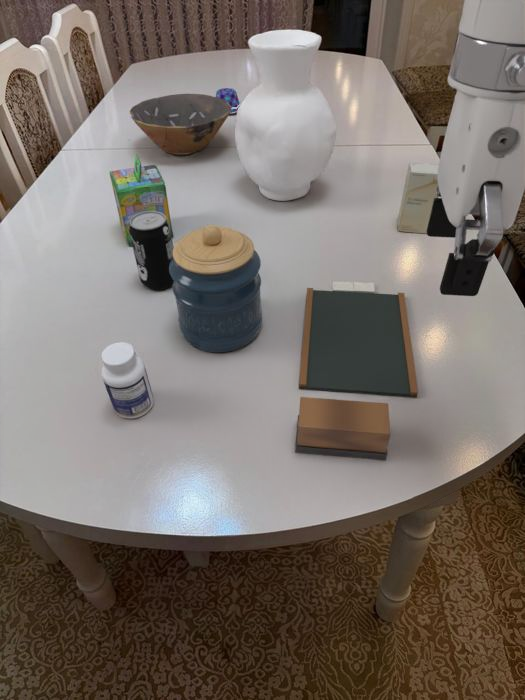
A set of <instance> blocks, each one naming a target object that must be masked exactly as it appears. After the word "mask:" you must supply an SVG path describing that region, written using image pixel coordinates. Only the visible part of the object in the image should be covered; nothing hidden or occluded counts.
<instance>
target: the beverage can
mask: <svg viewBox="0 0 525 700" xmlns="http://www.w3.org/2000/svg"><path fill="white" fill-rule="evenodd" d="M129 233H130V237H131V242H132V250H133V255H134V259H135V264H136V267H137V271H138V275H139V281H140V283H141V284H142V285H143V286H144V287H146V288H148V289H150V290H152V291H153V290H154V291H161V290H162V291H163V290H166V289H168V288H170V287H173V281H174V280H173V278H172V277H171V275H170V272H169V264H170V261H171V259H172V258H173V248H174V241H173V238H172V235H171V229H170V224H169V223H168V221H167V220H166V216H165V215H164V214H163V213H161V212H158V211H145V212H141V213H138V214H136V215H134V216H133V217H132V218H131V219H130V228H129Z"/></svg>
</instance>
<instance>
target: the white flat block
mask: <svg viewBox="0 0 525 700" xmlns="http://www.w3.org/2000/svg"><path fill="white" fill-rule="evenodd" d="M353 283H354V292H358V293H376V289H375V283H374V282H362V281H353Z"/></svg>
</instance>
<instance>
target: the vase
mask: <svg viewBox="0 0 525 700" xmlns="http://www.w3.org/2000/svg"><path fill="white" fill-rule="evenodd" d="M321 44H322V36H321V35H320V34H317V33H316V32H312V31H309V30H302V29H290V28H289V29H275V30H269V31H264V32H262V33H257V34H255V35H252V36H251V37H250V38H249V39H248V41H247V45H248V47H249V50H250V51H251V53H252V56H253V58H254V62H255V64H256V66H257V69H258V73H259V78H260V83H259V84H258V85H256V86H255V87H254V88H253V89H251V90H250V92H249V93H248V94H247V95H246V97H245V98H244V99H243V100H242V101H241V102H242V103H241V105H240V106H239V108H238V111H237V113H236V116H235V127H234V128H235V130H234V141H235V147H236V151H237V154H238V157H239V161H240V163H241V165H242V167H243V170H244V172H245V173H246V174H247V176H248V178H250V179H251V180H252V182H253V183H255V184H256V185H257V186H259V188H258V190H259V192H260V194H261V195H262V196H263V197H265V198H267V199H269V200H273V201H279V202H288V201H293V200H297V199H299V198H302V197H304V196H306V195H307V194H308V193H309V191H310V187H311V182H312V181H314V180H316V179H317V178H318V177H319V176H320V175H322V174H323V173H324V172H325V170H326V168H327V167H328V165H329V163H330V161H331V158H332V155H333V153H334V149H335V148H334V147H335V143H336V140H337V129H338V126H337V123H336V122H335V118H334V114H333V111H332V110H331V107H330V106H331V105H330V104H329V102H328V100H327V99H326V97H325V96H324V94H323V92H322V91H321V89H319V88H318V87H317V86H316V85H314V84H312V83H311V78H312V77H311V76H312V68H313V64H314V61H315V58H316V56H317V53H318V51H319V48H320V46H321Z"/></svg>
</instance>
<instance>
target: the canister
mask: <svg viewBox="0 0 525 700" xmlns="http://www.w3.org/2000/svg"><path fill="white" fill-rule="evenodd" d="M173 247H174V248H173V258H172V259H171V261H170V264H169V272H170V275H171V277H172V278H173V280H174V281H173V285H172V292H173V293H172V294H173V295H174V298H175V302H176V303H175V304H176V309H177V314H178V317H177V321H178V326H179V329H180V331H181V333H182V336H183V338H184V339H185V341H187V343H189V345H190V346H191V347H192V346H193V347H194V348H196V349H198V350H201V351H205V352H209V353H226V352H232V351H235V350H239V349H241V348H243V347H245V346H247V345H248V344H250V343H252V341H253V340H255V339H256V337H257V336H258V334H259V333H260V330H261V327H262V323H263V310H262V303H261V302H262V301H261V286H262V277H261V275H260V273H259V271H260V269H261V266H262V265H261V263H262V262H261V258H260V255H259V254H258V251H256V250H255V245H254V242H253V241H252V239H251V238H250V237H249V236H248V235H247V234H245V233H243V232H241V231H239V230H236V229H233V228H231V227H228V226H221V225H214V224H209V225H207V226H204V227H200V228H197V229H194V230H193V231H191V232H189V233H188V234H185V235H184V236H182V237H181V238H180V239H178V241H176V243H175V244H174V245H173Z"/></svg>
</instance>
